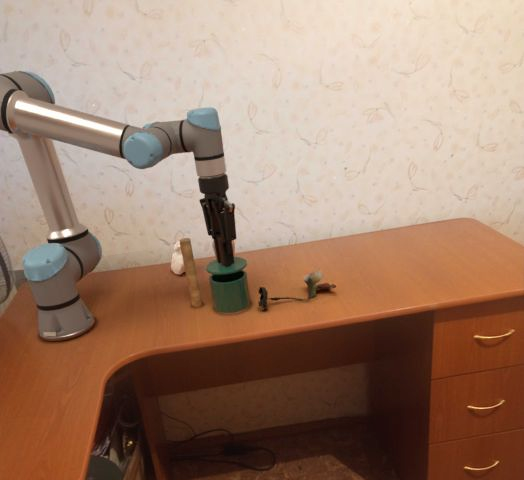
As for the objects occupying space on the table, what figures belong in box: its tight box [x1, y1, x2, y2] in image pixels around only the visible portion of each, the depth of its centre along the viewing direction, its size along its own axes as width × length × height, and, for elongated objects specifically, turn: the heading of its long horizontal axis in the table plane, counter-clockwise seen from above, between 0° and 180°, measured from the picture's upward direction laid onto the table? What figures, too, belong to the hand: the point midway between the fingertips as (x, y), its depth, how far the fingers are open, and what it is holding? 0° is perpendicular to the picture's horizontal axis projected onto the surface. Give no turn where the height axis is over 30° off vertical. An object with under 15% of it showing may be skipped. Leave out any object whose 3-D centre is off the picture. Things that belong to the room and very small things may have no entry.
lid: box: [205, 235, 248, 275], centre depth 144 cm, size 11×11×9 cm
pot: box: [208, 269, 251, 314], centre depth 150 cm, size 10×10×10 cm
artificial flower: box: [257, 269, 337, 311], centre depth 150 cm, size 9×22×10 cm, turn 105°
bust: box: [170, 240, 186, 276], centre depth 179 cm, size 12×8×11 cm
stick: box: [178, 237, 203, 307], centre depth 151 cm, size 3×3×20 cm
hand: (226, 262), depth 146 cm, fingers closed on lid, 3 cm apart
